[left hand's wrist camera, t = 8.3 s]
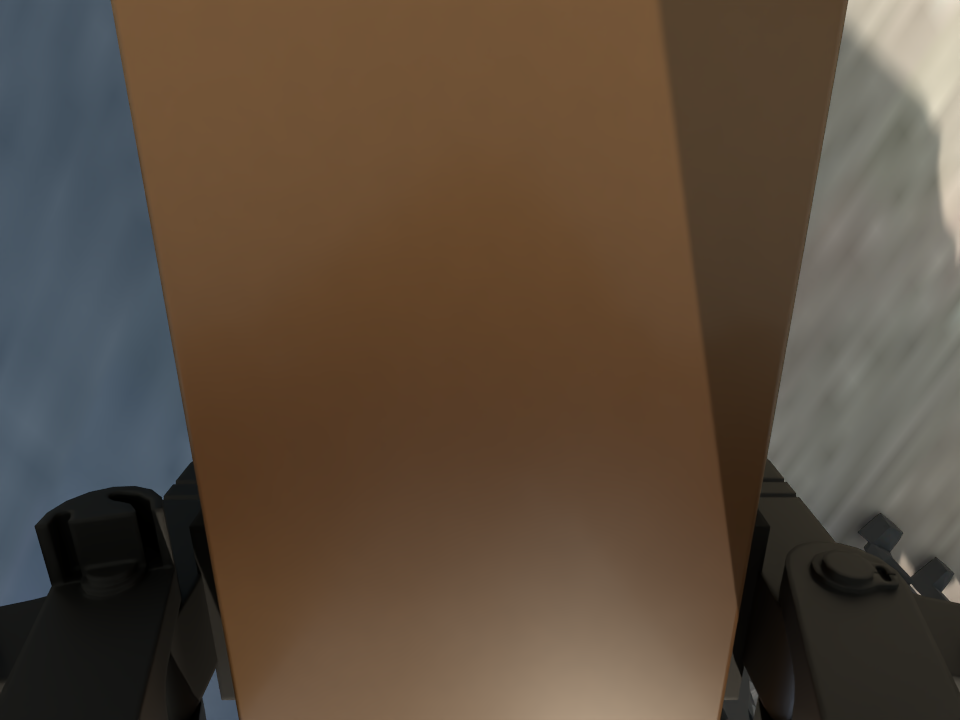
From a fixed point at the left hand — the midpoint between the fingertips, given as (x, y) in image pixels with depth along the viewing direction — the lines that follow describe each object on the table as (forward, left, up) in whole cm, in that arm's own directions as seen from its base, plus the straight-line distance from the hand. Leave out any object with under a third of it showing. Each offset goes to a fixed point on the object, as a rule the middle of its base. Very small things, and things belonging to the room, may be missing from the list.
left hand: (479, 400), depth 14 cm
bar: (+11, +6, 0) cm, 13 cm away
